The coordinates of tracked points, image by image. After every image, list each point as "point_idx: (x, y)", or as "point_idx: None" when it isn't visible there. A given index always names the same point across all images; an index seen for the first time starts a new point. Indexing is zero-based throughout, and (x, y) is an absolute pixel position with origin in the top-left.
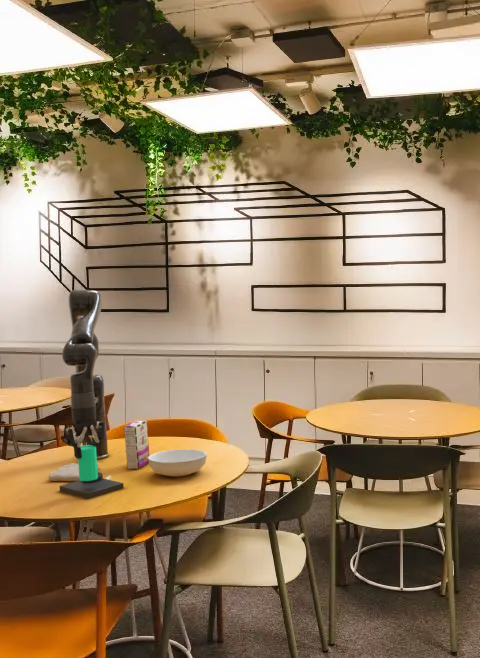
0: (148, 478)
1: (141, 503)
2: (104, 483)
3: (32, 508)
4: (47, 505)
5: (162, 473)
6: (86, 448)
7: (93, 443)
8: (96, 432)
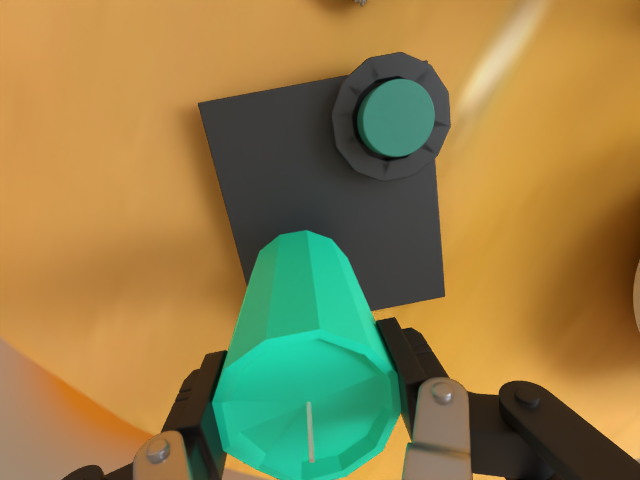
0: (595, 223)
1: (372, 469)
2: (386, 241)
3: (27, 273)
4: (94, 278)
5: (633, 303)
6: (306, 405)
7: (407, 409)
8: (569, 469)
